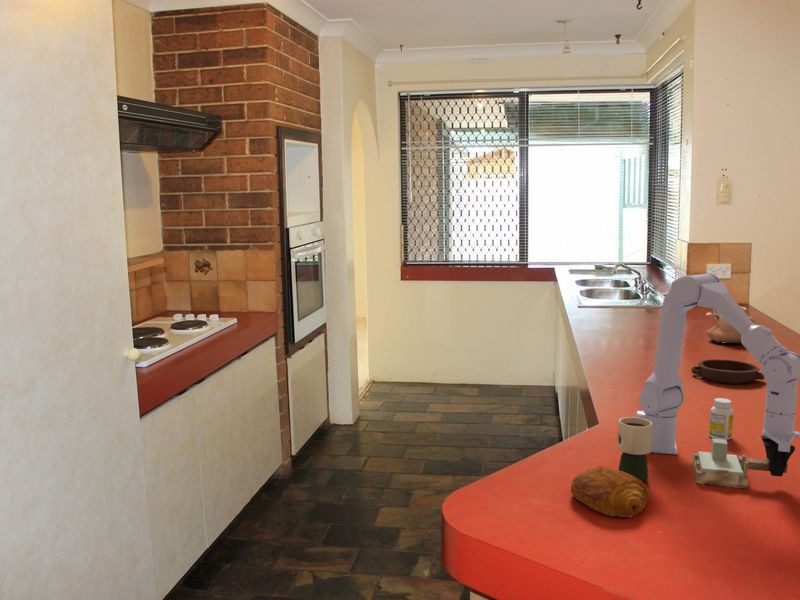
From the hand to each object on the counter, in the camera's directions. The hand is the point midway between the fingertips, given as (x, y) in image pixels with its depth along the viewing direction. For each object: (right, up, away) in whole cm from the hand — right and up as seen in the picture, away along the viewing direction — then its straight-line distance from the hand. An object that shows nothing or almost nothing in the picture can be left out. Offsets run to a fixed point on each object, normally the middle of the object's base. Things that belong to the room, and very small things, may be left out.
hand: (775, 473), depth 160 cm
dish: (+27, +10, +87) cm, 92 cm away
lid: (-9, 0, +6) cm, 11 cm away
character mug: (-29, -3, +5) cm, 29 cm away
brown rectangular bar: (-2, +1, 0) cm, 2 cm away
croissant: (-37, -5, -7) cm, 38 cm away
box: (-9, -2, +6) cm, 11 cm away
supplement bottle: (+2, +2, +32) cm, 32 cm away
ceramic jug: (+52, +19, +142) cm, 153 cm away
